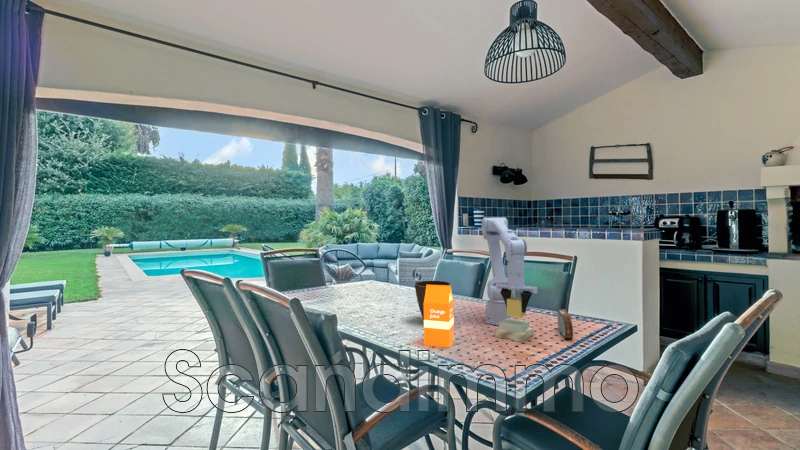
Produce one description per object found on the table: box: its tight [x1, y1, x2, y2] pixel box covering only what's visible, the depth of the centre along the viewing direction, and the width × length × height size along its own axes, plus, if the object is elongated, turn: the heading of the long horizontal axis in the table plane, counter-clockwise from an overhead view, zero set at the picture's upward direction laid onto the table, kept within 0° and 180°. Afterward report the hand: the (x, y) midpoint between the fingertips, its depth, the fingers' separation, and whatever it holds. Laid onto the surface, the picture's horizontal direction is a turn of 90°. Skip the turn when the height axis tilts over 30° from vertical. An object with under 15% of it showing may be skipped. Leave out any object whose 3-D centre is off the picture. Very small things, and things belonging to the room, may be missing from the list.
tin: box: [556, 308, 574, 339], centre depth 129 cm, size 15×3×8 cm, turn 166°
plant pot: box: [414, 280, 451, 321], centre depth 148 cm, size 15×15×16 cm
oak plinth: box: [494, 326, 534, 343], centre depth 128 cm, size 10×10×2 cm
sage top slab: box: [498, 317, 530, 334], centre depth 128 cm, size 8×8×2 cm
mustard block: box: [507, 296, 527, 319], centre depth 127 cm, size 5×5×6 cm
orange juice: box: [423, 285, 455, 348], centre depth 123 cm, size 8×9×20 cm
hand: (516, 310), depth 127 cm, fingers closed on mustard block, 5 cm apart
